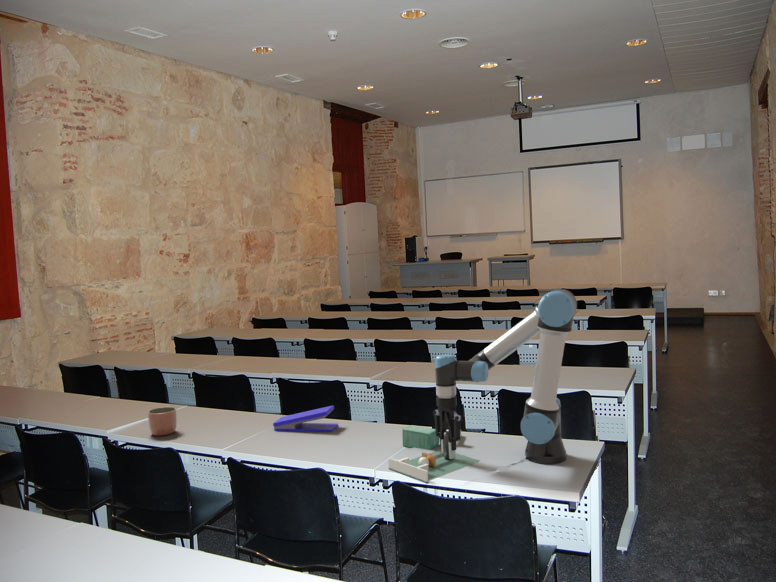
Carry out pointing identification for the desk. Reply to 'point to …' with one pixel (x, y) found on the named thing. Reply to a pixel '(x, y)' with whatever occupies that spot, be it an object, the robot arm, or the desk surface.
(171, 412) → the planter
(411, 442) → the box
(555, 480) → the desk surface
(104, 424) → the desk surface
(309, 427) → the stapler
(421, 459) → the ball
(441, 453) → the small squeegee
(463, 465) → the pitch
